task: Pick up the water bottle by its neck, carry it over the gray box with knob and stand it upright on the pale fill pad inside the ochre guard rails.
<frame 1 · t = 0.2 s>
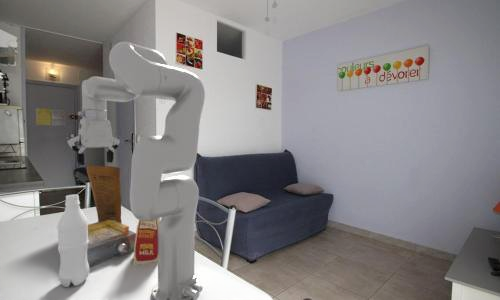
hand: (96, 163, 95), 31 cm above the table, tool pointing down, fingers open, 9 cm apart
water bottle: (74, 282, 75), on the table
milk carton: (149, 256, 91), on the table
pancake mix bag: (107, 229, 115), on the table
gray box with knob: (100, 252, 93), on the table
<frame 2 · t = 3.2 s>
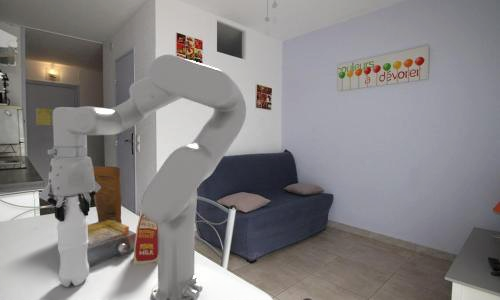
hand: (72, 216, 74), 19 cm above the table, tool pointing down, fingers closed on water bottle, 5 cm apart
water bottle: (74, 282, 75), on the table, touching gripper
everything else where it was.
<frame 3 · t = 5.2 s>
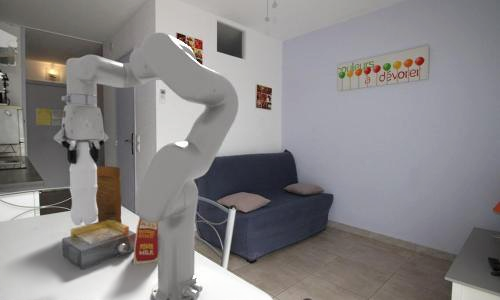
hand: (83, 161, 80), 34 cm above the table, tool pointing down, fingers closed on water bottle, 5 cm apart
water bottle: (84, 223, 81), point 14 cm above the table, touching gripper
everything else where it was.
when the fingers open (27 cm above the table, at t = 7.5 s): water bottle drops 1 cm, resting on gray box with knob.
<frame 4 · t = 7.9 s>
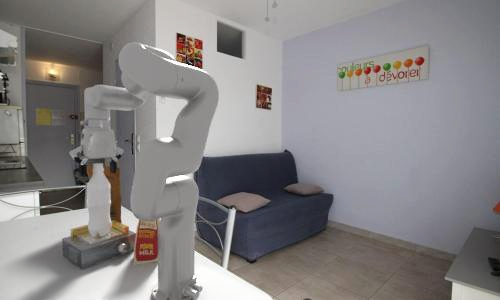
hand: (98, 174, 91), 28 cm above the table, tool pointing down, fingers open, 9 cm apart
water bottle: (100, 234, 92), point 6 cm above the table, touching gray box with knob
everything else where it was.
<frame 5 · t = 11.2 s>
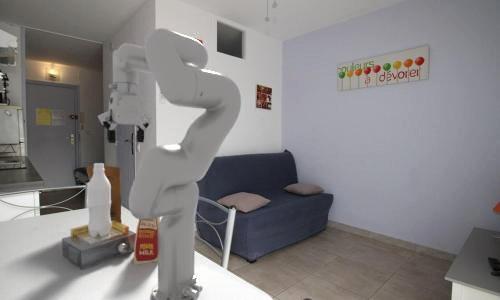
hand: (126, 142, 87), 39 cm above the table, tool pointing down, fingers open, 9 cm apart
nothing on the table moved.
at the end: water bottle inside the target area on the gray box with knob (0.2 cm from its centre), point 6.4 cm above the gray box with knob's base; water bottle tilted 0°; the gripper is holding nothing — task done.
